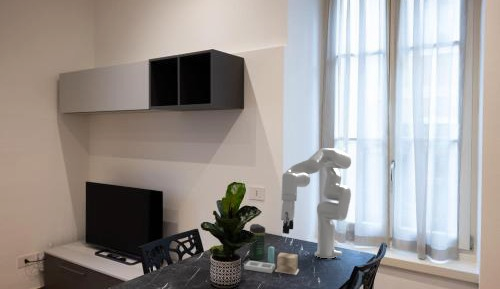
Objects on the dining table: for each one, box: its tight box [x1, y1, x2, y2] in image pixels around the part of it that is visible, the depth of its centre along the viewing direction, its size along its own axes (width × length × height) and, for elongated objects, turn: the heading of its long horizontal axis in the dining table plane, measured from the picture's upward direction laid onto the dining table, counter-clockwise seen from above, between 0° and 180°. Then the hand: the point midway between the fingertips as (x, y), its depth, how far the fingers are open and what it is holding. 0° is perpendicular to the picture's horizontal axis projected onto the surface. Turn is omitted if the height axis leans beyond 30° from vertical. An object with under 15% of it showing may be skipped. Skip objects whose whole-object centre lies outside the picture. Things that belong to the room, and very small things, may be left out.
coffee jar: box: [248, 223, 266, 261], centre depth 196 cm, size 10×8×19 cm
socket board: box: [243, 260, 276, 274], centre depth 178 cm, size 14×8×2 cm, turn 72°
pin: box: [267, 246, 275, 264], centre depth 186 cm, size 3×3×9 cm
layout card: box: [274, 268, 300, 276], centre depth 176 cm, size 11×8×5 cm
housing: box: [276, 252, 299, 275], centre depth 176 cm, size 9×6×8 cm
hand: (288, 231), depth 176 cm, fingers open, 9 cm apart
